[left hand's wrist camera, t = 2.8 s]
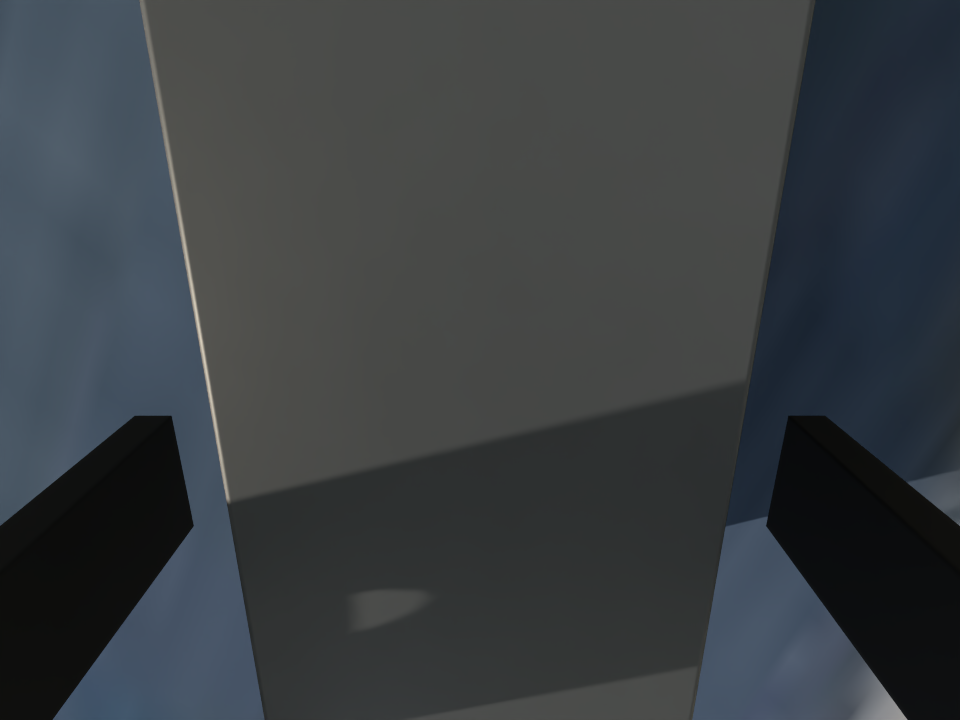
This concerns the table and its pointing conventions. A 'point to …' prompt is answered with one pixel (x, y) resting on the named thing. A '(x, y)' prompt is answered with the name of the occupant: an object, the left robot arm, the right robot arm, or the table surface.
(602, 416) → the post
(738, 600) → the table surface
